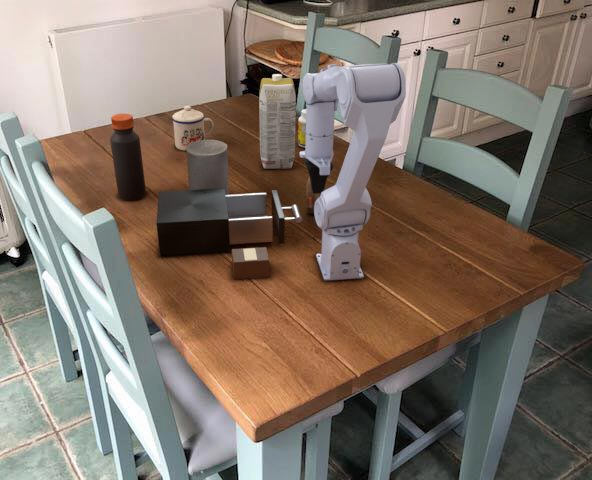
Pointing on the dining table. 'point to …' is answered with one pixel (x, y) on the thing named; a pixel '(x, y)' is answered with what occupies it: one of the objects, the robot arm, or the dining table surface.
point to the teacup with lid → (189, 127)
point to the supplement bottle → (302, 129)
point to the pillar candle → (207, 165)
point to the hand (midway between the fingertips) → (317, 192)
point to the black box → (193, 222)
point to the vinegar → (127, 158)
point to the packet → (250, 263)
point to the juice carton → (277, 122)
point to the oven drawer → (257, 218)
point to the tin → (311, 197)
